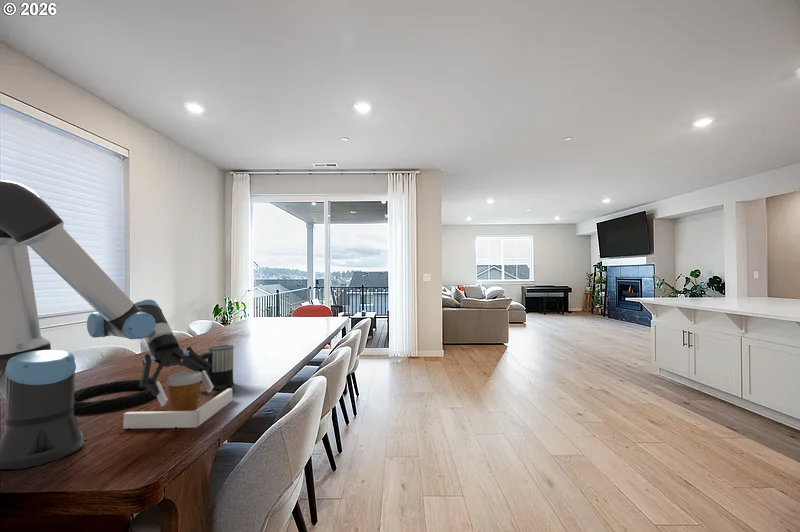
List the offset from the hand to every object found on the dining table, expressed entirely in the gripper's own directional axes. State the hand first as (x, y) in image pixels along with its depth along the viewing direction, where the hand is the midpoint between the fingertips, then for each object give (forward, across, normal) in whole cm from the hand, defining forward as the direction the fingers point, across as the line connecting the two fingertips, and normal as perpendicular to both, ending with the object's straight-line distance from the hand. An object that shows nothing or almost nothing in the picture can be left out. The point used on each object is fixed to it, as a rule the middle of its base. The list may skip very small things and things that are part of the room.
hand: (189, 396), depth 107 cm
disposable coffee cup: (+2, -1, -7) cm, 8 cm away
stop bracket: (+1, -2, -8) cm, 9 cm away
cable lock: (-24, +1, -34) cm, 41 cm away
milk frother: (-8, -23, -17) cm, 30 cm away
